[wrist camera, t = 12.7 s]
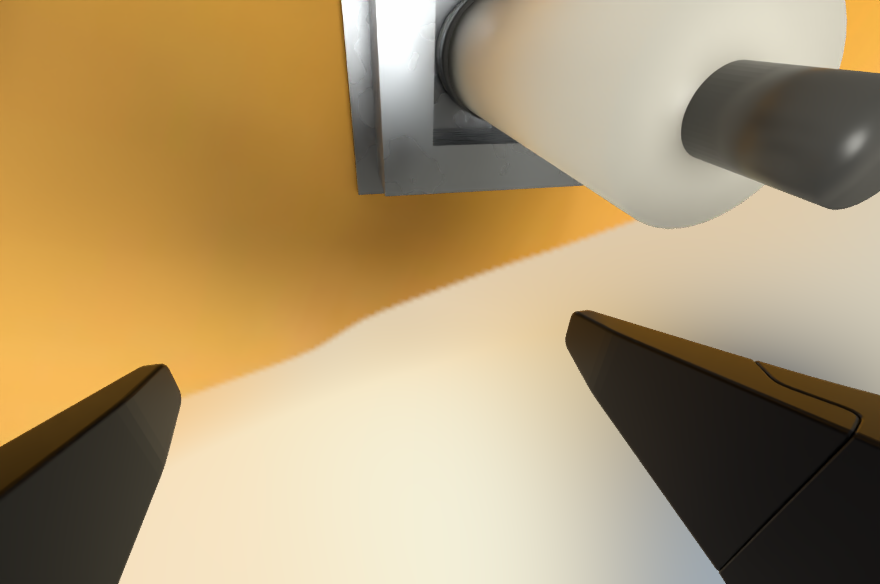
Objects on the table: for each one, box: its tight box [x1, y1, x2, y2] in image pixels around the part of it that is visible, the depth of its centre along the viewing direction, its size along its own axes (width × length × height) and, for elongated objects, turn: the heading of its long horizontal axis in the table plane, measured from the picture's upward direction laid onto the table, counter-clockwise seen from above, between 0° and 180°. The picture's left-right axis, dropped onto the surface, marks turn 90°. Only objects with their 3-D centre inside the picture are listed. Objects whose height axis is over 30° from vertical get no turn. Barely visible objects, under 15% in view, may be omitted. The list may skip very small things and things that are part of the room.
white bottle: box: [436, 0, 880, 229], centre depth 11 cm, size 5×5×15 cm
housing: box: [341, 0, 583, 196], centre depth 16 cm, size 12×12×4 cm
